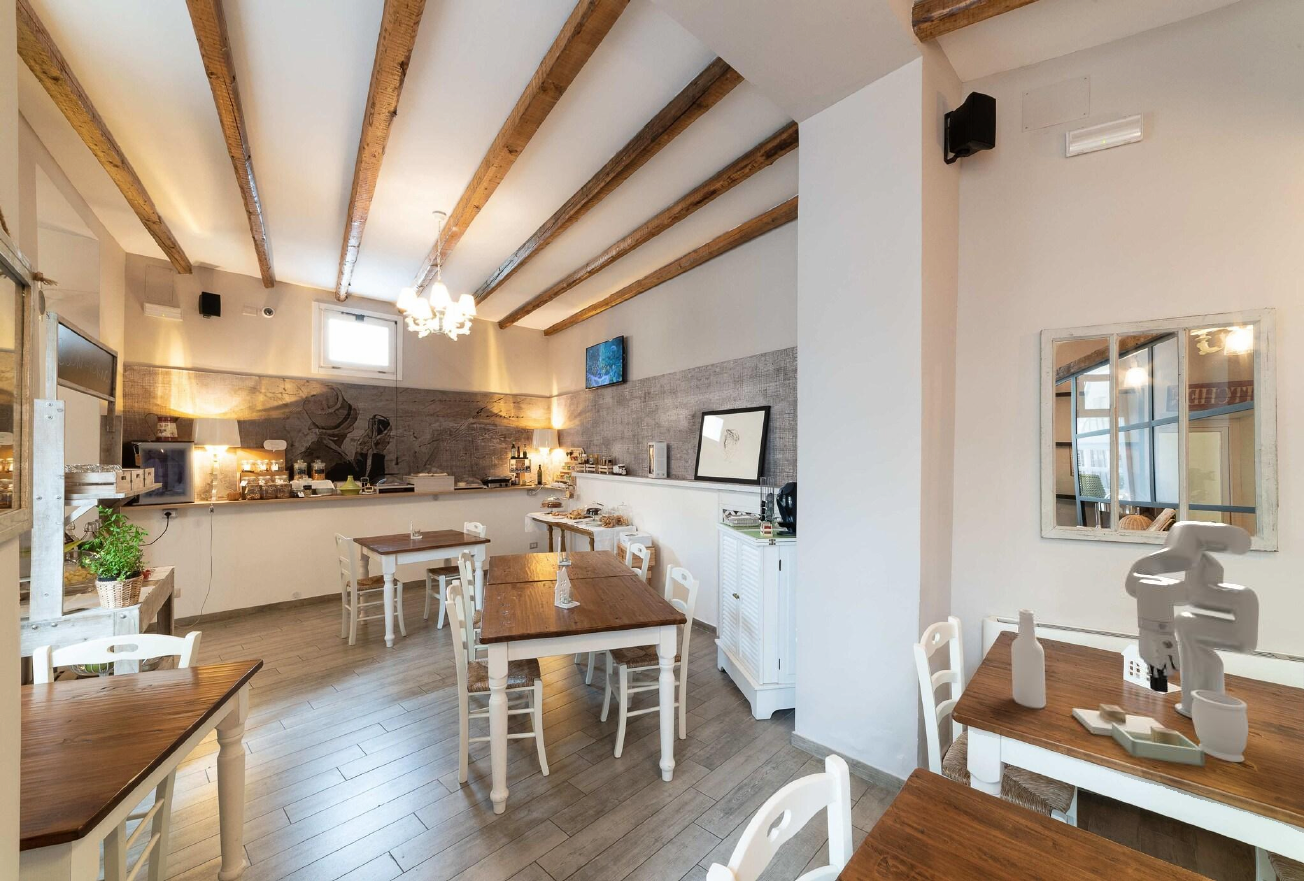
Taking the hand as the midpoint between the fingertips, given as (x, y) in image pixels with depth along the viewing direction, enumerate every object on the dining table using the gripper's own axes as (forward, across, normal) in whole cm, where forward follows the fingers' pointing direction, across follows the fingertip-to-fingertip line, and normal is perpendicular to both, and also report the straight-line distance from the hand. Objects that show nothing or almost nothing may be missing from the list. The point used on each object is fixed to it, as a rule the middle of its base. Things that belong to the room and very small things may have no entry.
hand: (1159, 690), depth 144 cm
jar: (+15, -1, -12) cm, 20 cm away
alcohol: (+15, +18, +26) cm, 35 cm away
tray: (+15, -4, +4) cm, 16 cm away
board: (+15, +7, +6) cm, 17 cm away
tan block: (+13, +9, +7) cm, 17 cm away
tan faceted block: (+12, -1, 0) cm, 12 cm away
